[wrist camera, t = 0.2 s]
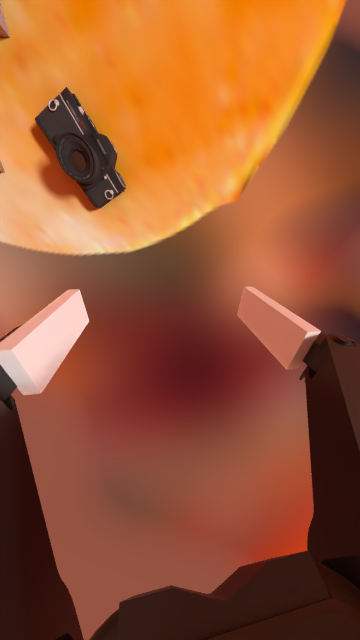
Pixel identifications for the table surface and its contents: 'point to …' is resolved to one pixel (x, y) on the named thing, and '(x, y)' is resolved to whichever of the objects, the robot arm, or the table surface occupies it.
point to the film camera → (81, 148)
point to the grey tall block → (3, 25)
